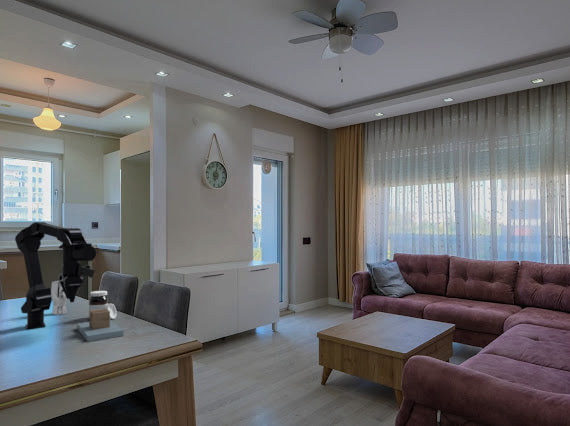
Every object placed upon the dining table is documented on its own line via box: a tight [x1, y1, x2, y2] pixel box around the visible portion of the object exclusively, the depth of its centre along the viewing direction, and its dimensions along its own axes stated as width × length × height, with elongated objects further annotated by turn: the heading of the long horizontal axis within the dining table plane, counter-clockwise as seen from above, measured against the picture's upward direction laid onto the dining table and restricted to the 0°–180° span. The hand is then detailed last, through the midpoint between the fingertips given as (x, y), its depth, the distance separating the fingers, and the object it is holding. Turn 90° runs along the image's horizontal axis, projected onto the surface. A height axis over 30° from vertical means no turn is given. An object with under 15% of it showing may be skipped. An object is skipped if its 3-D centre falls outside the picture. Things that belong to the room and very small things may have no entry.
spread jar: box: [88, 290, 118, 320], centre depth 170 cm, size 12×11×12 cm
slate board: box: [76, 319, 124, 343], centre depth 148 cm, size 22×12×2 cm, turn 37°
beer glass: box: [50, 280, 68, 316], centre depth 180 cm, size 7×7×15 cm
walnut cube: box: [88, 309, 111, 330], centre depth 148 cm, size 6×6×6 cm
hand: (70, 300), depth 149 cm, fingers open, 9 cm apart
